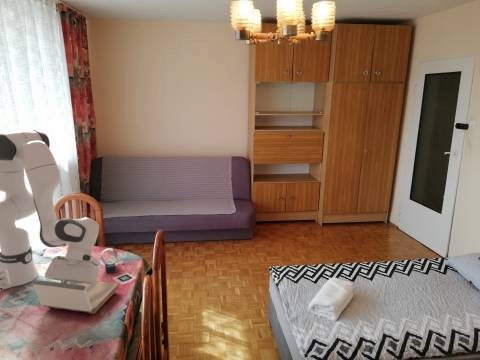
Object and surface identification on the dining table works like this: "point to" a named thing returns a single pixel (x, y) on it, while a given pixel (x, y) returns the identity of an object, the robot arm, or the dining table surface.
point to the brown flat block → (96, 295)
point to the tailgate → (62, 295)
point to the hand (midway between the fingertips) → (64, 293)
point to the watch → (110, 264)
